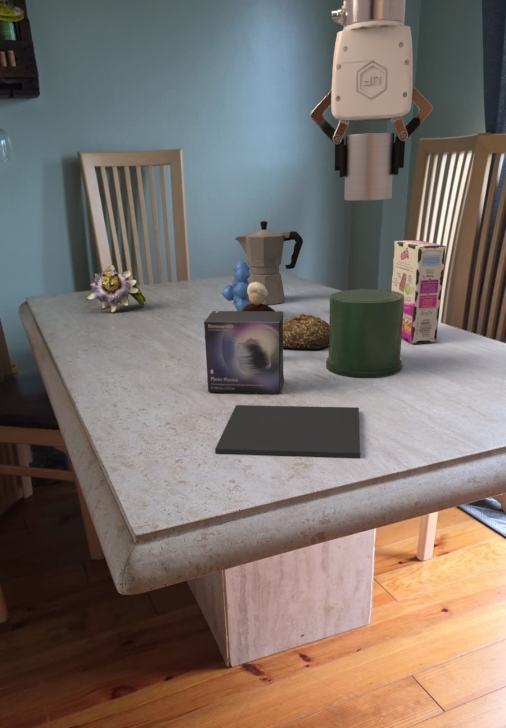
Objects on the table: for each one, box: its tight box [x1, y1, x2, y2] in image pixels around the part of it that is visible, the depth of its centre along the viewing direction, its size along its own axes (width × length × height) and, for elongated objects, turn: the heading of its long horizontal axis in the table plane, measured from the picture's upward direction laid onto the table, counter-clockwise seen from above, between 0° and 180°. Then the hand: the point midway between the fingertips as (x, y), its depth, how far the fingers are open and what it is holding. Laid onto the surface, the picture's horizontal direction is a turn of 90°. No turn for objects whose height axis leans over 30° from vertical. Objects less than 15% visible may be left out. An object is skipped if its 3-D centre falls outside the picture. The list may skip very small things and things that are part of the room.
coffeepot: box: [235, 220, 304, 306], centre depth 144 cm, size 15×9×18 cm, turn 87°
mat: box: [214, 404, 361, 459], centre depth 75 cm, size 16×14×1 cm
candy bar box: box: [390, 239, 447, 345], centre depth 110 cm, size 11×5×16 cm, turn 10°
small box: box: [203, 310, 285, 395], centre depth 88 cm, size 11×6×10 cm, turn 82°
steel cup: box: [343, 132, 396, 202], centre depth 84 cm, size 6×6×8 cm
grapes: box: [221, 260, 251, 311], centre depth 127 cm, size 12×7×12 cm, turn 1°
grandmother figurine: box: [242, 282, 276, 311], centre depth 100 cm, size 8×4×13 cm, turn 92°
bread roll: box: [283, 313, 329, 350], centre depth 112 cm, size 13×12×5 cm
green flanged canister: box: [325, 288, 404, 379], centre depth 95 cm, size 12×12×11 cm
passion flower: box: [86, 264, 147, 313], centre depth 144 cm, size 11×11×12 cm
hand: (368, 174), depth 84 cm, fingers closed on steel cup, 6 cm apart
